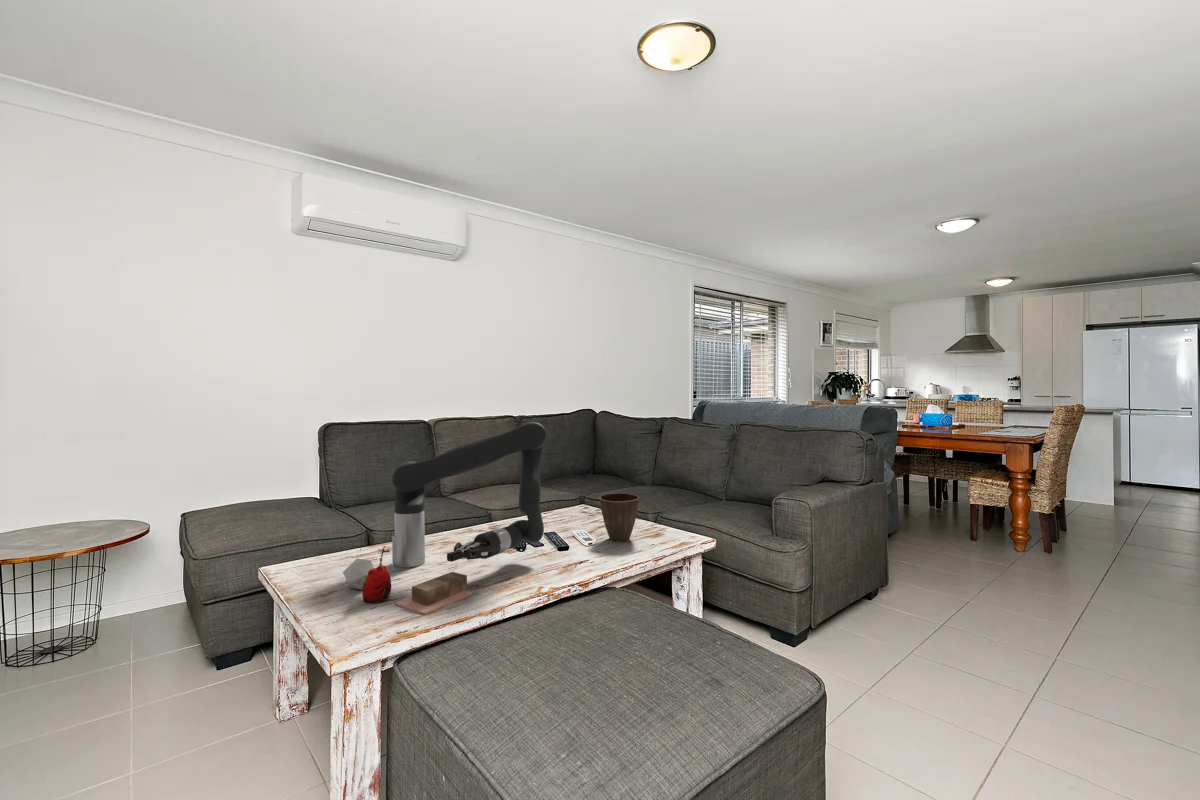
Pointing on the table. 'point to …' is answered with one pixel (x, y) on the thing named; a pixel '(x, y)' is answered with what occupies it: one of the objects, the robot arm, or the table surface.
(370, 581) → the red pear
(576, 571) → the table surface
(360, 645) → the table surface
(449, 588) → the walnut block
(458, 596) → the felt mat
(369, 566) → the die
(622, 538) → the plant pot
